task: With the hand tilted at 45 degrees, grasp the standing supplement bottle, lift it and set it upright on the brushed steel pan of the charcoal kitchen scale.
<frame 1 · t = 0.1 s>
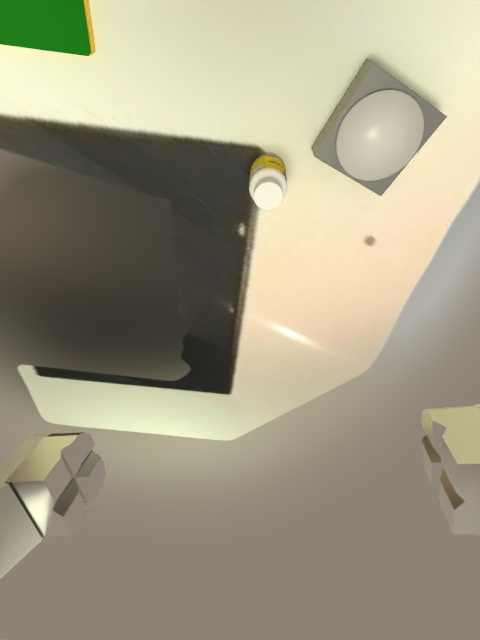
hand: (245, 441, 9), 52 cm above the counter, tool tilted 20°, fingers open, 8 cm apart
kitchen scale: (371, 128, 50), on the counter
supplement bottle: (267, 169, 55), on the counter
dish sponge: (36, 10, 44), on the counter
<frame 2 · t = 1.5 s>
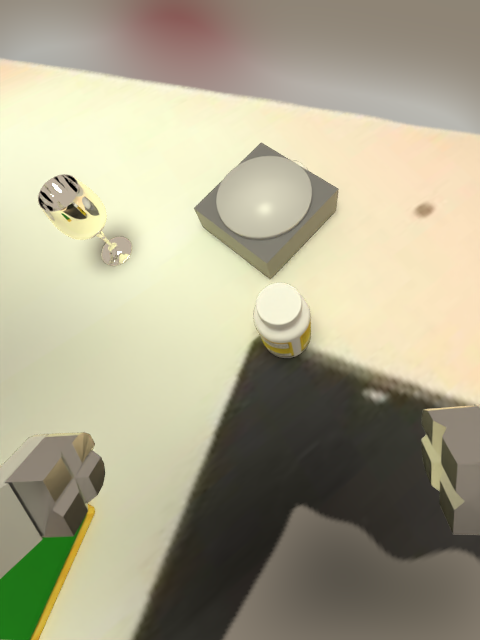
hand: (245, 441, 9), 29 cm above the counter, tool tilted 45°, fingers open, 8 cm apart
kitchen scale: (267, 219, 45), on the counter
supplement bottle: (286, 335, 40), on the counter
wineglass: (117, 251, 48), on the counter
dish sponge: (42, 560, 37), on the counter
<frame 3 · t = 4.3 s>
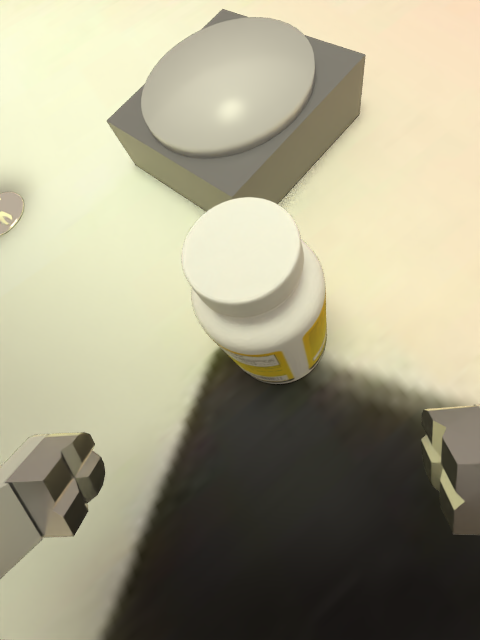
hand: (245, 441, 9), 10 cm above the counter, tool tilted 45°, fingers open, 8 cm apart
kitchen scale: (240, 140, 26), on the counter
supplement bottle: (278, 339, 20), on the counter
wineglass: (2, 216, 29), on the counter
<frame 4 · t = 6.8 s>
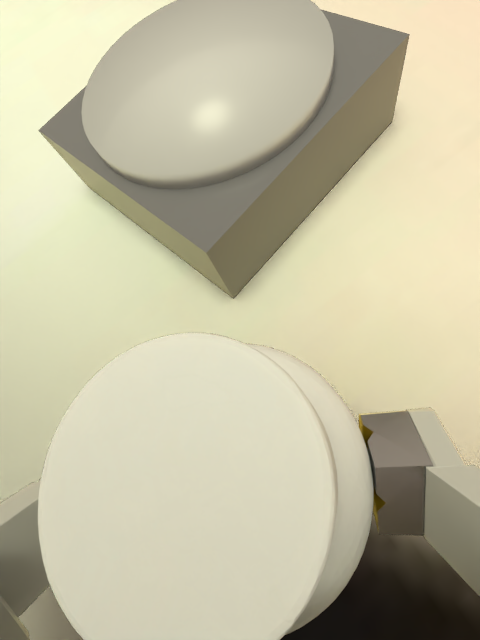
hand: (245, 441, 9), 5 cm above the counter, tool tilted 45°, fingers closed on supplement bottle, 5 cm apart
kitchen scale: (227, 157, 19), on the counter
supplement bottle: (277, 463, 13), on the counter, touching gripper
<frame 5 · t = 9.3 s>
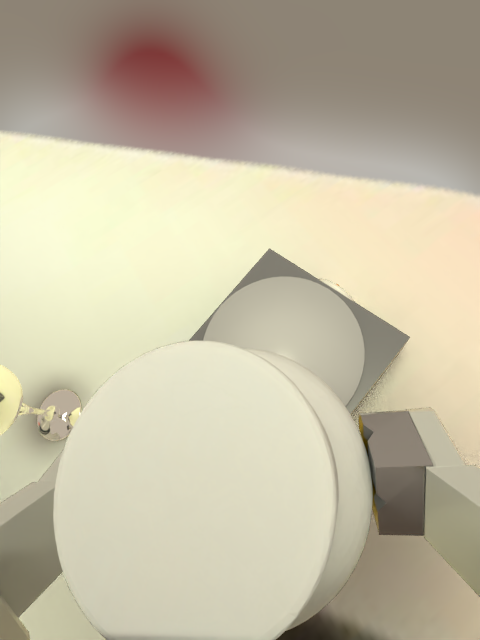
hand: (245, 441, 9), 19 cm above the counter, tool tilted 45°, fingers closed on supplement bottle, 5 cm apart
kitchen scale: (286, 365, 28), on the counter
supplement bottle: (278, 464, 14), point 13 cm above the counter, touching gripper
wineglass: (61, 414, 32), on the counter
when the fingers open (11 cm above the counter, at t = 12.1 s): supplement bottle stays where it is, resting on kitchen scale.
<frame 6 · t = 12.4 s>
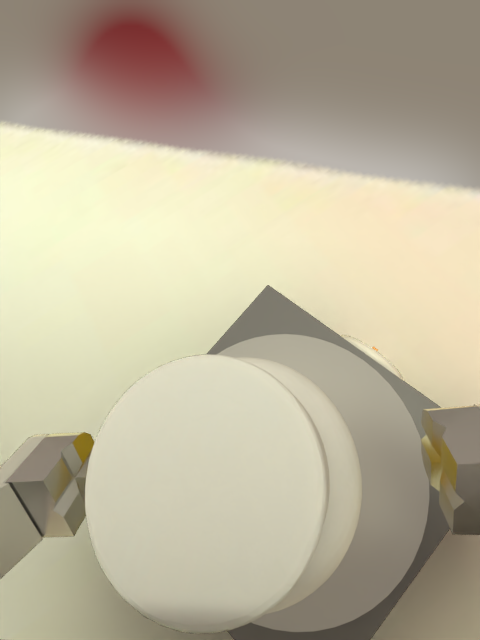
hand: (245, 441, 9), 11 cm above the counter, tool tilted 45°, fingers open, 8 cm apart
kitchen scale: (291, 460, 19), on the counter
supplement bottle: (278, 463, 15), point 5 cm above the counter, touching kitchen scale
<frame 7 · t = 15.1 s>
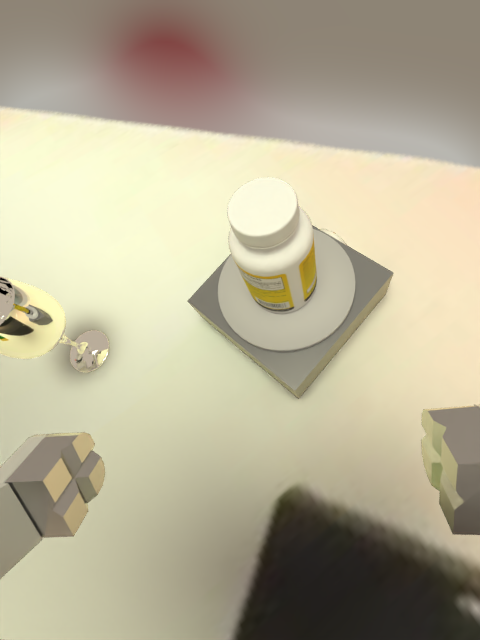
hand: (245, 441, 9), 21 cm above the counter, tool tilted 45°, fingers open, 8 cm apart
kitchen scale: (289, 306, 33), on the counter
supplement bottle: (282, 285, 29), point 5 cm above the counter, touching kitchen scale
wineglass: (90, 351, 36), on the counter
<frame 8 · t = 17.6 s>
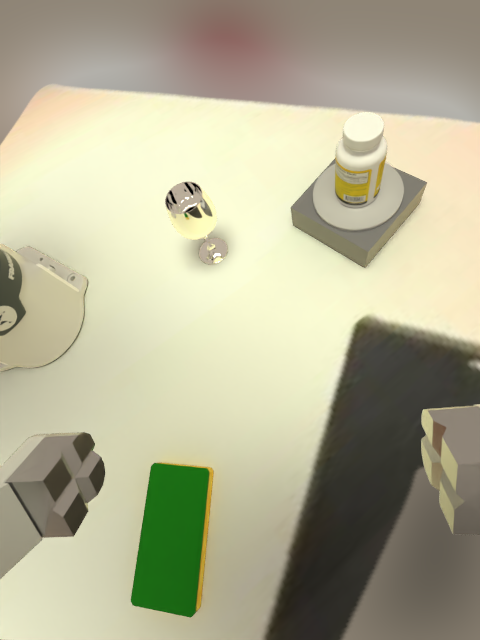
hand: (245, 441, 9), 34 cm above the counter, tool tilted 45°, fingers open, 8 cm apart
kitchen scale: (354, 214, 49), on the counter
supplement bottle: (356, 192, 45), point 5 cm above the counter, touching kitchen scale
wineglass: (213, 251, 52), on the counter
dish sponge: (179, 529, 41), on the counter
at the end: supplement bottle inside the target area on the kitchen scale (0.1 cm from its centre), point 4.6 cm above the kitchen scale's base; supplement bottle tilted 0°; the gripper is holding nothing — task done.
